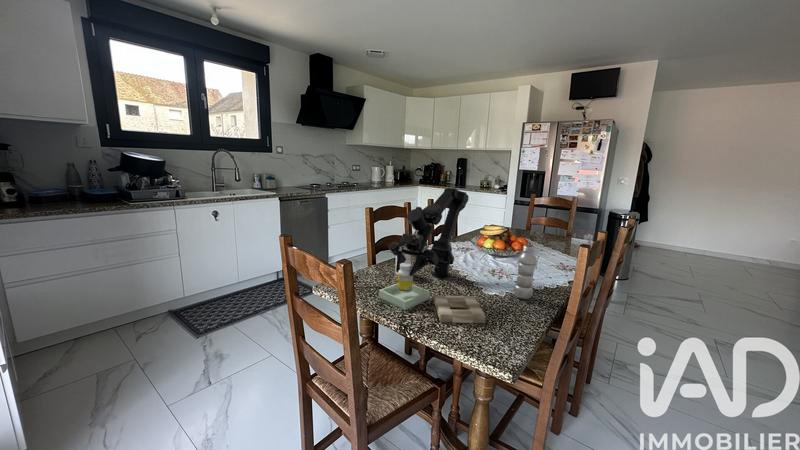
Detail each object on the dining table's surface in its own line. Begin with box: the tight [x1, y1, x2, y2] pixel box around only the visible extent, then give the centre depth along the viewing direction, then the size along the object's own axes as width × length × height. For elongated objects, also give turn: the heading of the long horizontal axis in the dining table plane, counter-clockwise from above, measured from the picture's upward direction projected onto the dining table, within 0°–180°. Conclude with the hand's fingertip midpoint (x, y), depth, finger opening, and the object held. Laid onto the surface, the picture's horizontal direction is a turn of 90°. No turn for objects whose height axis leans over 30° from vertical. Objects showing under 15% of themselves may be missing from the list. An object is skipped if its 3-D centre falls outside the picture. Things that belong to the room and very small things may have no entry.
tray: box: [378, 282, 431, 311], centre depth 113 cm, size 13×13×3 cm
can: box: [395, 245, 412, 277], centre depth 135 cm, size 6×6×12 cm
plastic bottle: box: [513, 244, 538, 300], centre depth 115 cm, size 6×7×20 cm
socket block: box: [433, 295, 486, 324], centre depth 104 cm, size 14×14×2 cm
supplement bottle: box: [397, 263, 414, 293], centre depth 112 cm, size 5×5×10 cm
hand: (403, 273), depth 110 cm, fingers closed on supplement bottle, 5 cm apart
